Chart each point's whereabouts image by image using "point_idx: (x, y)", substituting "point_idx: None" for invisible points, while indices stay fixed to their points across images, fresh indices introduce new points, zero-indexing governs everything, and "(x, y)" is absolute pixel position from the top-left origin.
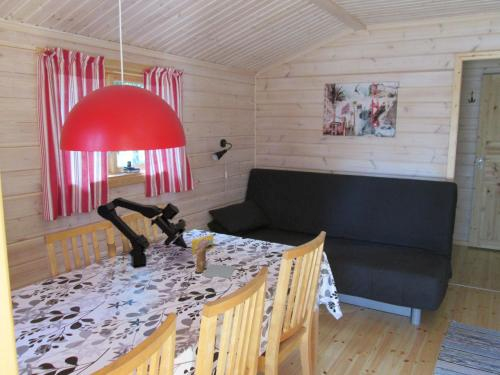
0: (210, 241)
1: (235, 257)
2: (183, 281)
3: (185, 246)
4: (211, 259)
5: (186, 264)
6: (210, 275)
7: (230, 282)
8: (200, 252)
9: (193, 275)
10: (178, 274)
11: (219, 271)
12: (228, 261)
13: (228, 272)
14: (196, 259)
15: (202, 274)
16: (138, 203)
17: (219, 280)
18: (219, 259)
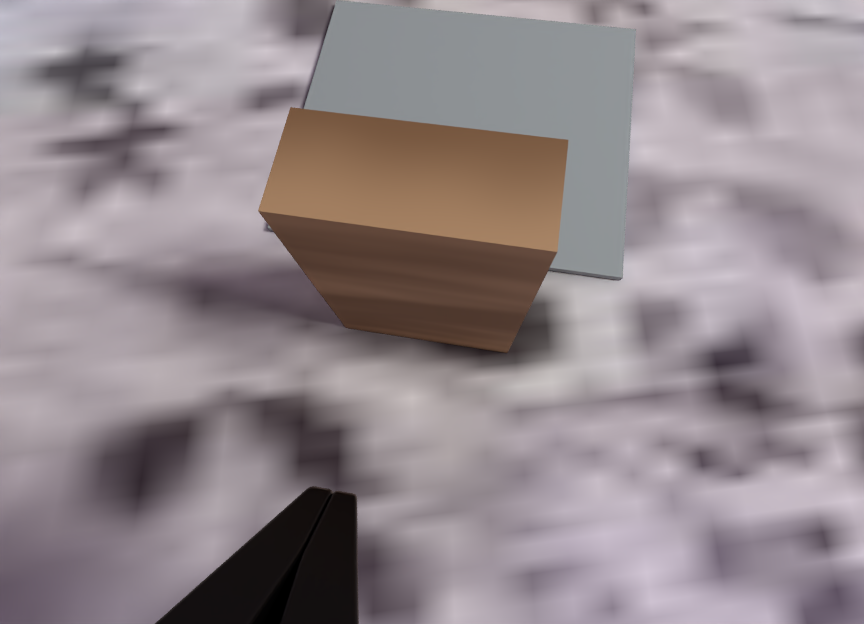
0: None
1: (69, 21)
2: (851, 474)
3: (356, 556)
4: (83, 228)
5: (225, 514)
6: (625, 193)
7: (755, 29)
8: (537, 176)
9: (627, 375)
10: (618, 578)
11: (495, 122)
12: (180, 70)
13: (518, 49)
14: (531, 303)
15: (605, 275)
16: None
17: (726, 113)
18: (100, 150)
